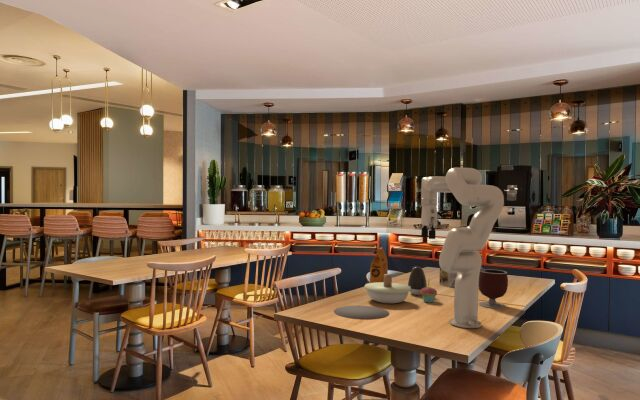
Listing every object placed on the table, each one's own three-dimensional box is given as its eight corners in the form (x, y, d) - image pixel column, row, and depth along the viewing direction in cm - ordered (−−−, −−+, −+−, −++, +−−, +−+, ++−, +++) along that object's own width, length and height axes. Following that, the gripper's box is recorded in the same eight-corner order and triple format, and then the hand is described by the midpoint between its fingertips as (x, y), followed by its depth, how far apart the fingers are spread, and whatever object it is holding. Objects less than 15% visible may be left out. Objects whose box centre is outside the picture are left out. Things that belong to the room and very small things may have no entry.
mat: (396, 320, 197) (396, 319, 197) (338, 321, 194) (338, 319, 194) (381, 306, 222) (381, 305, 222) (329, 307, 218) (329, 305, 218)
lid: (417, 293, 222) (417, 278, 222) (370, 293, 219) (370, 278, 219) (402, 284, 245) (403, 270, 245) (360, 284, 242) (360, 270, 242)
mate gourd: (505, 303, 234) (506, 264, 233) (509, 310, 220) (510, 268, 220) (473, 301, 238) (474, 262, 238) (474, 307, 224) (475, 266, 224)
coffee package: (366, 285, 275) (367, 248, 275) (374, 281, 286) (375, 246, 286) (382, 287, 271) (383, 249, 270) (389, 283, 282) (390, 247, 281)
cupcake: (437, 303, 231) (437, 279, 231) (419, 302, 232) (420, 278, 232) (436, 299, 239) (437, 276, 239) (419, 298, 241) (420, 275, 241)
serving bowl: (375, 308, 219) (376, 293, 219) (360, 298, 239) (360, 285, 239) (415, 306, 225) (416, 292, 225) (397, 296, 245) (397, 283, 245)
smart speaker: (419, 291, 259) (420, 264, 259) (430, 295, 250) (431, 267, 249) (403, 292, 256) (404, 265, 256) (414, 296, 246) (414, 268, 246)
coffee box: (438, 284, 283) (439, 258, 283) (447, 283, 286) (447, 257, 285) (448, 287, 275) (449, 260, 274) (457, 286, 277) (458, 259, 277)
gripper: (443, 203, 216) (442, 239, 216) (429, 202, 233) (429, 236, 233) (428, 202, 215) (427, 239, 215) (415, 202, 232) (414, 236, 232)
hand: (428, 237), depth 224 cm, fingers open, 9 cm apart
